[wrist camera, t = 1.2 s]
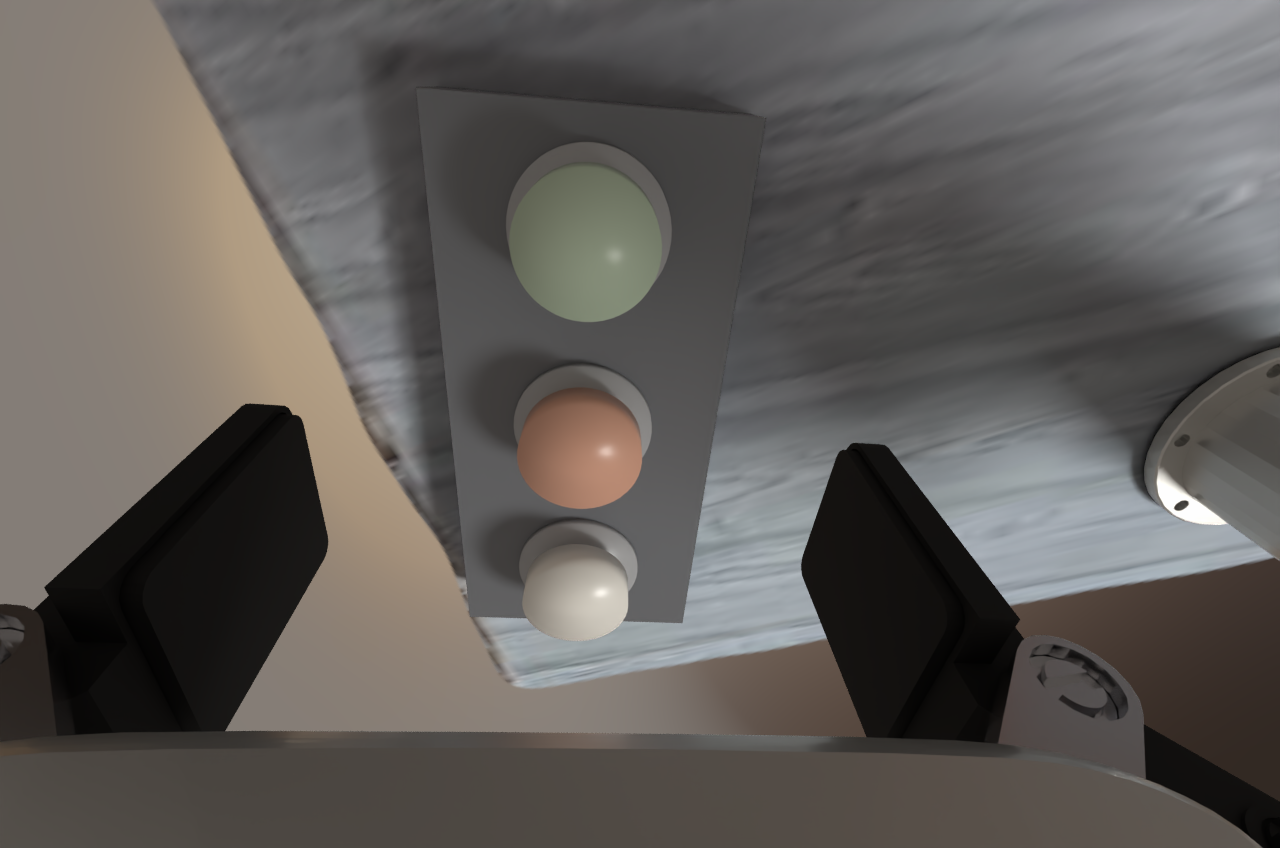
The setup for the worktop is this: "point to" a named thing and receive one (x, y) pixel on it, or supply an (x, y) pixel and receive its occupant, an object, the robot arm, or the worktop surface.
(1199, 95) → the worktop surface
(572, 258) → the button green
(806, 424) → the worktop surface
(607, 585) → the button white
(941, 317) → the worktop surface
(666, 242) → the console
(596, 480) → the button terracotta
